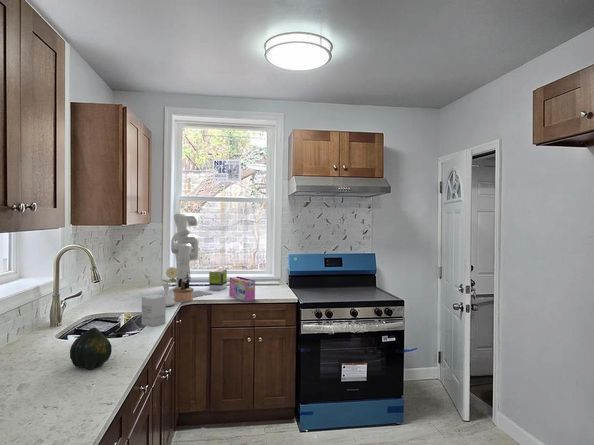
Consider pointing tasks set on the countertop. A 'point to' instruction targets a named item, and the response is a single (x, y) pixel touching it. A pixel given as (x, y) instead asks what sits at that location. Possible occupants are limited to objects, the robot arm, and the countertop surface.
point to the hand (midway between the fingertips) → (183, 287)
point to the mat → (200, 293)
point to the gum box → (242, 288)
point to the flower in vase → (171, 274)
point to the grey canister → (153, 310)
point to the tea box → (217, 279)
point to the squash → (90, 349)
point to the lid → (183, 288)
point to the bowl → (183, 296)
